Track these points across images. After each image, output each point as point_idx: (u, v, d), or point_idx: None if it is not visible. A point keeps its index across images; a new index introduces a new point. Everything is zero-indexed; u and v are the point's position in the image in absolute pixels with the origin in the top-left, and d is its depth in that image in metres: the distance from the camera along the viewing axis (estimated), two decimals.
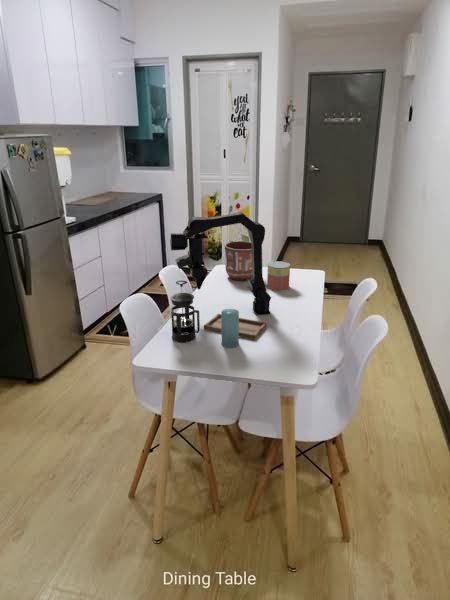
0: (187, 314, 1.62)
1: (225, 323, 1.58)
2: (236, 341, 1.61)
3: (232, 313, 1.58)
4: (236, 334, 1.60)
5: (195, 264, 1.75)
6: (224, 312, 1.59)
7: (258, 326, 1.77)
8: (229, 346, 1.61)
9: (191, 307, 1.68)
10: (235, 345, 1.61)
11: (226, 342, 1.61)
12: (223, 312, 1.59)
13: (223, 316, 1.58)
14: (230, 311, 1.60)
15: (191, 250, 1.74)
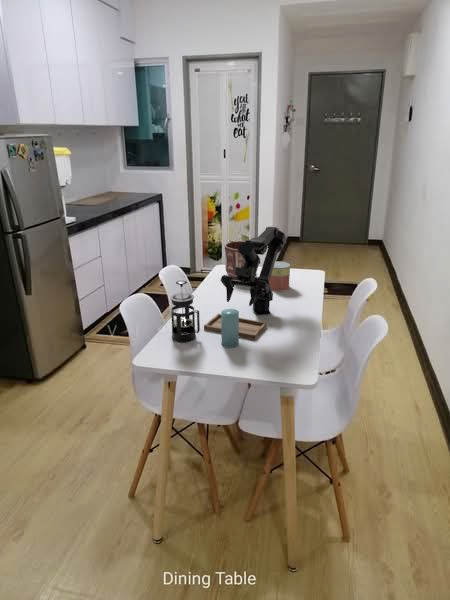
0: (187, 314, 1.62)
1: (225, 323, 1.58)
2: (236, 341, 1.61)
3: (232, 313, 1.58)
4: (236, 334, 1.60)
5: (251, 280, 1.67)
6: (224, 312, 1.59)
7: (258, 326, 1.77)
8: (229, 346, 1.61)
9: (191, 307, 1.68)
10: (235, 345, 1.61)
11: (226, 342, 1.61)
12: (223, 312, 1.59)
13: (223, 316, 1.58)
14: (230, 311, 1.60)
15: (252, 265, 1.68)
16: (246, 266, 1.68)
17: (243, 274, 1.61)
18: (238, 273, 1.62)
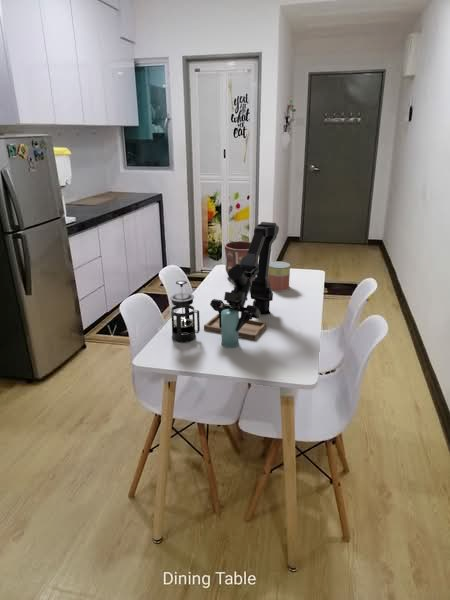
0: (187, 314, 1.62)
1: (225, 323, 1.58)
2: (236, 341, 1.61)
3: (232, 313, 1.58)
4: (236, 334, 1.60)
5: (242, 305, 1.62)
6: (224, 312, 1.59)
7: (258, 326, 1.77)
8: (229, 346, 1.61)
9: (191, 307, 1.68)
10: (235, 345, 1.61)
11: (226, 342, 1.60)
12: (223, 312, 1.59)
13: (223, 316, 1.57)
14: (230, 311, 1.60)
15: (243, 290, 1.63)
16: (236, 290, 1.63)
17: (233, 299, 1.56)
18: (228, 298, 1.57)
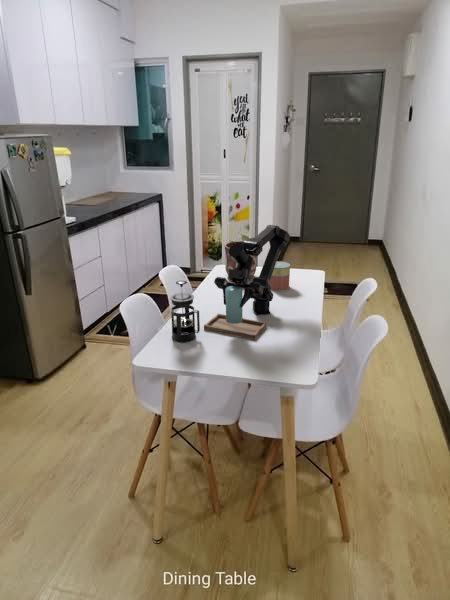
0: (187, 314, 1.62)
1: (229, 299, 1.63)
2: (240, 317, 1.66)
3: (236, 289, 1.63)
4: (240, 310, 1.65)
5: (245, 282, 1.67)
6: (228, 289, 1.64)
7: (258, 326, 1.77)
8: (233, 322, 1.66)
9: (191, 307, 1.68)
10: (239, 321, 1.67)
11: (231, 318, 1.66)
12: (227, 289, 1.64)
13: (227, 293, 1.62)
14: (234, 288, 1.65)
15: (246, 267, 1.68)
16: (239, 268, 1.68)
17: (237, 276, 1.61)
18: (232, 275, 1.62)
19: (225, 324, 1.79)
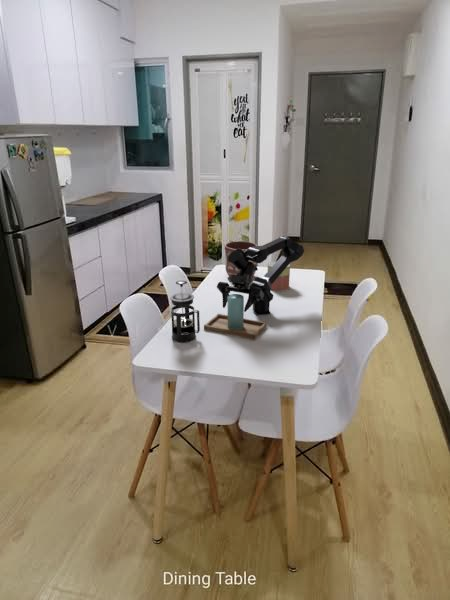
0: (187, 314, 1.62)
1: (231, 307, 1.70)
2: (241, 324, 1.74)
3: (237, 297, 1.71)
4: (241, 317, 1.73)
5: (246, 287, 1.74)
6: (230, 296, 1.72)
7: (258, 326, 1.77)
8: (235, 328, 1.73)
9: (191, 307, 1.68)
10: (240, 327, 1.74)
11: (232, 325, 1.73)
12: (229, 297, 1.72)
13: (229, 300, 1.70)
14: (236, 296, 1.72)
15: (247, 273, 1.75)
16: (241, 273, 1.75)
17: (238, 281, 1.68)
18: (233, 280, 1.69)
19: (225, 324, 1.79)
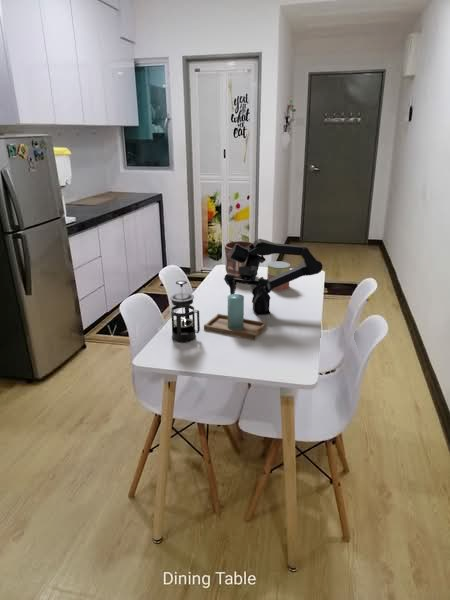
0: (187, 314, 1.62)
1: (231, 307, 1.70)
2: (241, 324, 1.74)
3: (237, 297, 1.71)
4: (241, 317, 1.73)
5: (253, 279, 1.78)
6: (230, 296, 1.72)
7: (258, 326, 1.77)
8: (235, 328, 1.73)
9: (191, 307, 1.68)
10: (240, 327, 1.74)
11: (232, 325, 1.73)
12: (229, 297, 1.72)
13: (229, 300, 1.70)
14: (236, 296, 1.72)
15: (254, 265, 1.80)
16: (248, 265, 1.79)
17: (247, 273, 1.73)
18: (242, 272, 1.73)
19: (225, 324, 1.79)
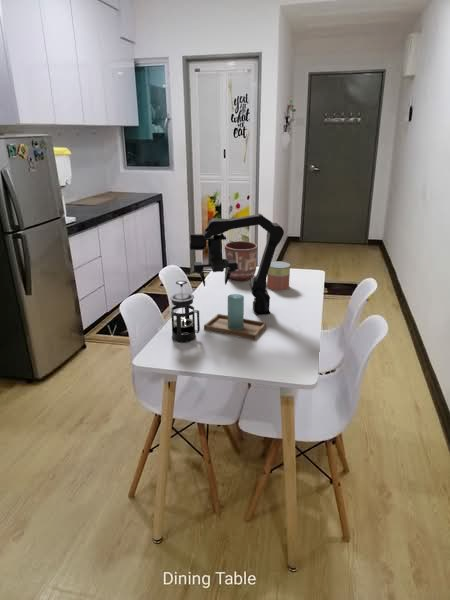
0: (187, 314, 1.62)
1: (231, 307, 1.70)
2: (241, 324, 1.74)
3: (237, 297, 1.71)
4: (241, 317, 1.73)
5: None
6: (230, 296, 1.72)
7: (258, 326, 1.77)
8: (235, 328, 1.73)
9: (191, 307, 1.68)
10: (240, 327, 1.74)
11: (232, 325, 1.73)
12: (229, 297, 1.72)
13: (229, 300, 1.70)
14: (236, 296, 1.72)
15: (220, 250, 1.78)
16: (215, 253, 1.78)
17: (222, 270, 1.76)
18: (217, 270, 1.75)
19: (225, 324, 1.79)
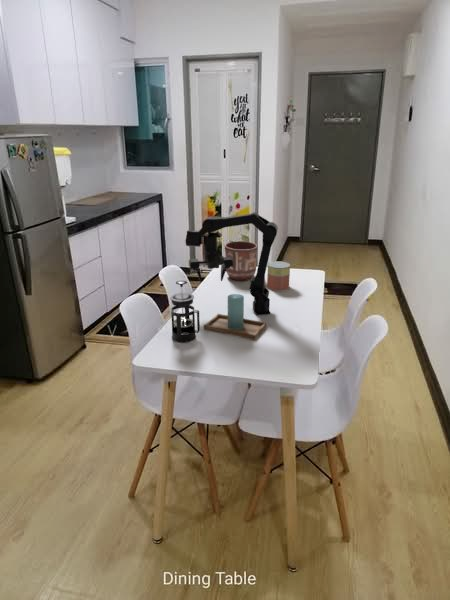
0: (187, 314, 1.62)
1: (231, 307, 1.70)
2: (241, 324, 1.74)
3: (237, 297, 1.71)
4: (241, 317, 1.73)
5: None
6: (230, 296, 1.72)
7: (258, 326, 1.77)
8: (235, 328, 1.73)
9: (191, 307, 1.68)
10: (240, 327, 1.74)
11: (232, 325, 1.73)
12: (229, 297, 1.72)
13: (229, 300, 1.70)
14: (236, 296, 1.72)
15: (215, 247, 1.83)
16: (210, 250, 1.83)
17: (217, 267, 1.81)
18: (212, 267, 1.80)
19: (225, 324, 1.79)
